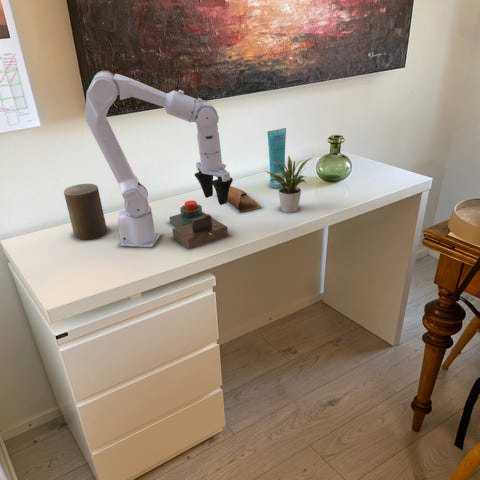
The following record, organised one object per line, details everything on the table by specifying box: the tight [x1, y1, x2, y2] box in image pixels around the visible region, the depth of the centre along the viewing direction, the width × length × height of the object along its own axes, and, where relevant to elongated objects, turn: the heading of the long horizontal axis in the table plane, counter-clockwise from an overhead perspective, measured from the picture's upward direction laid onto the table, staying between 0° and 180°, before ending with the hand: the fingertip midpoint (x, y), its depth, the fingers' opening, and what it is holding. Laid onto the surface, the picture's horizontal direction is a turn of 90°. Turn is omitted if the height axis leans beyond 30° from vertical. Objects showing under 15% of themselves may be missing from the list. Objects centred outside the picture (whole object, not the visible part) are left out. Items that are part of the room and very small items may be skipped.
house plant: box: [265, 155, 313, 213], centre depth 155 cm, size 14×14×16 cm
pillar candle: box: [63, 183, 108, 241], centre depth 145 cm, size 10×10×15 cm
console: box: [172, 217, 229, 250], centre depth 142 cm, size 13×11×3 cm
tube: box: [266, 127, 287, 189], centre depth 171 cm, size 7×5×19 cm, turn 127°
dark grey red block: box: [192, 213, 212, 233], centre depth 140 cm, size 6×2×4 cm, turn 125°
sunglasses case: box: [227, 185, 261, 213], centre depth 164 cm, size 18×7×7 cm
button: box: [184, 200, 198, 211], centre depth 152 cm, size 4×4×2 cm
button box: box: [168, 203, 206, 228], centre depth 152 cm, size 10×9×4 cm
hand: (216, 200), depth 140 cm, fingers open, 7 cm apart
